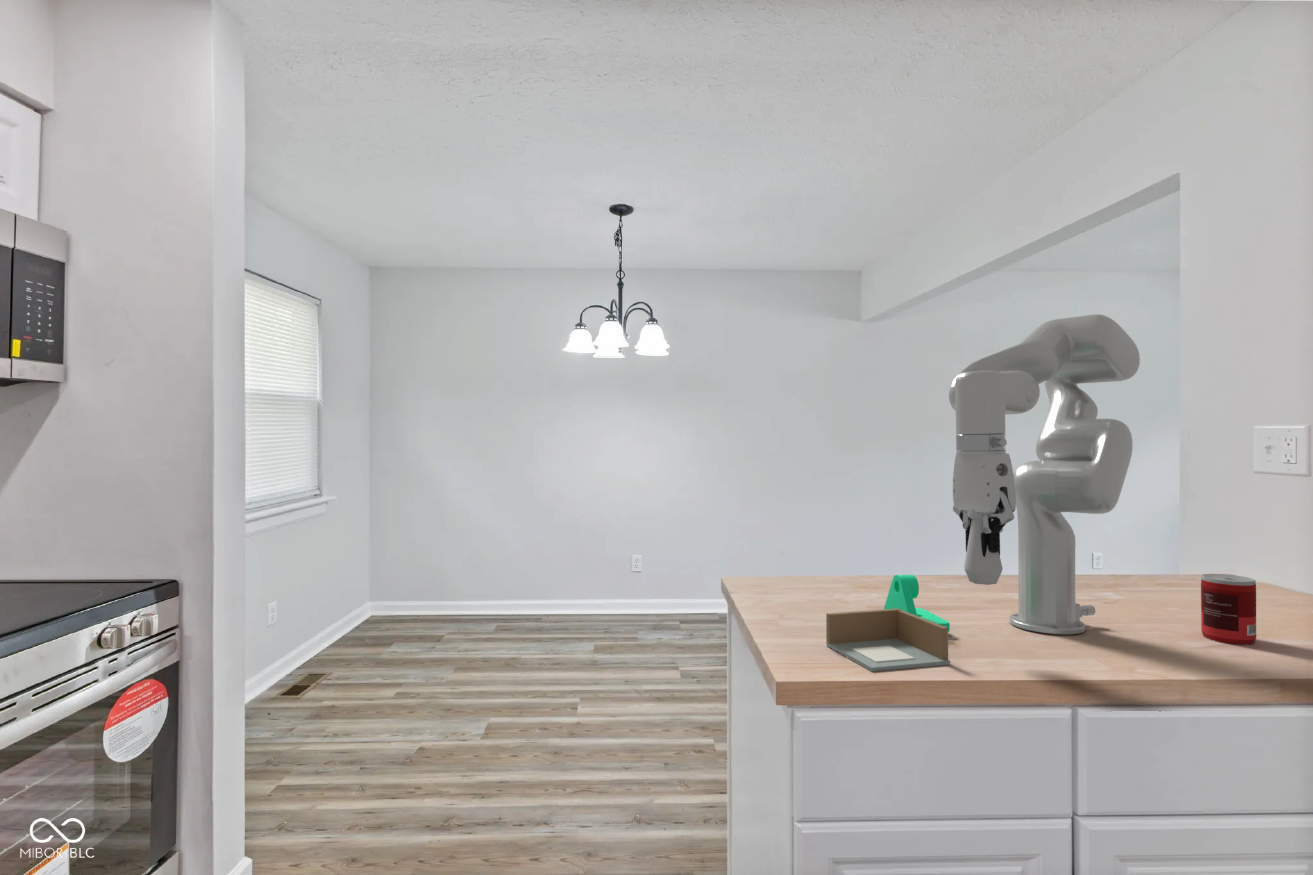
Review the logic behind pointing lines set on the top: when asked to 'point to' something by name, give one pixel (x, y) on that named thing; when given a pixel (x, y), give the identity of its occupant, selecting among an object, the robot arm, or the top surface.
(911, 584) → the camera mount
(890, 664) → the grey and wooden tray
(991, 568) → the salt shaker
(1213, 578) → the canned food
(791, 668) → the top surface
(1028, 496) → the robot arm
